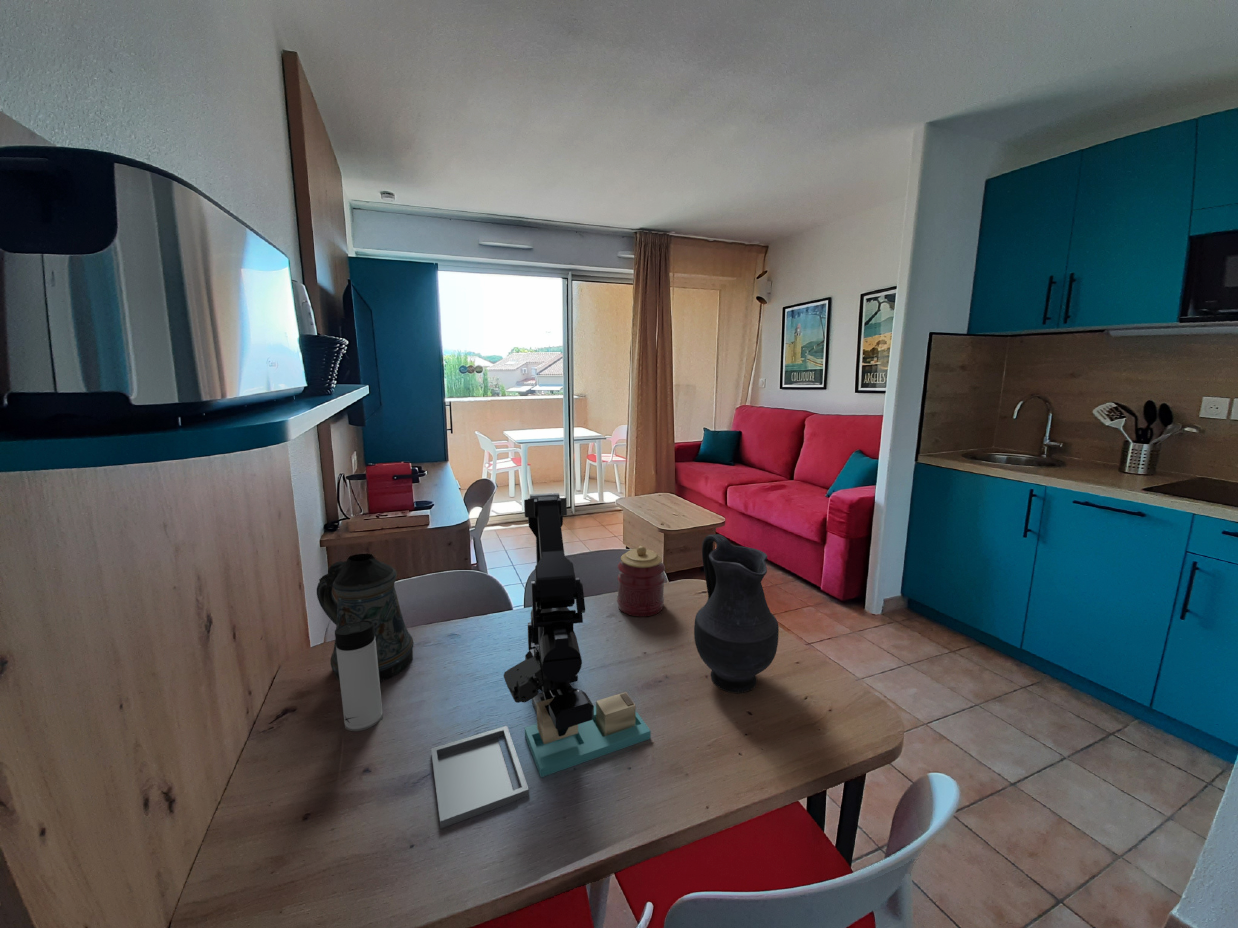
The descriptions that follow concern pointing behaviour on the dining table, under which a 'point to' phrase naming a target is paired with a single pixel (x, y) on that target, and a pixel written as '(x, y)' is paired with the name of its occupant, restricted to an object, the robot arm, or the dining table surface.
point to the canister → (640, 582)
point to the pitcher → (735, 616)
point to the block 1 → (549, 724)
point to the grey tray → (474, 776)
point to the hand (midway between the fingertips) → (557, 726)
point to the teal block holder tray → (581, 745)
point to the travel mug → (359, 675)
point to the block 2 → (615, 714)
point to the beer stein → (368, 609)
